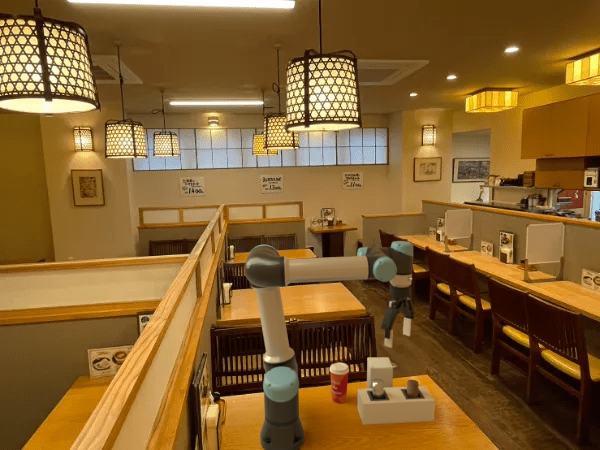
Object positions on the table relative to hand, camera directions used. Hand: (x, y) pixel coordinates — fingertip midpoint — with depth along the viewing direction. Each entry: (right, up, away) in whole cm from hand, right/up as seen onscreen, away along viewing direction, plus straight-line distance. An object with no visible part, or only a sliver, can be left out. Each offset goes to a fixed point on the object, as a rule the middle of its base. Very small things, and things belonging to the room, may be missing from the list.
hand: (397, 340), depth 151 cm
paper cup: (-20, -27, +13) cm, 36 cm away
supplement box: (-4, -27, +14) cm, 30 cm away
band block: (0, -28, +2) cm, 28 cm away
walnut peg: (+6, -24, +2) cm, 24 cm away
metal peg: (-7, -23, +1) cm, 24 cm away
